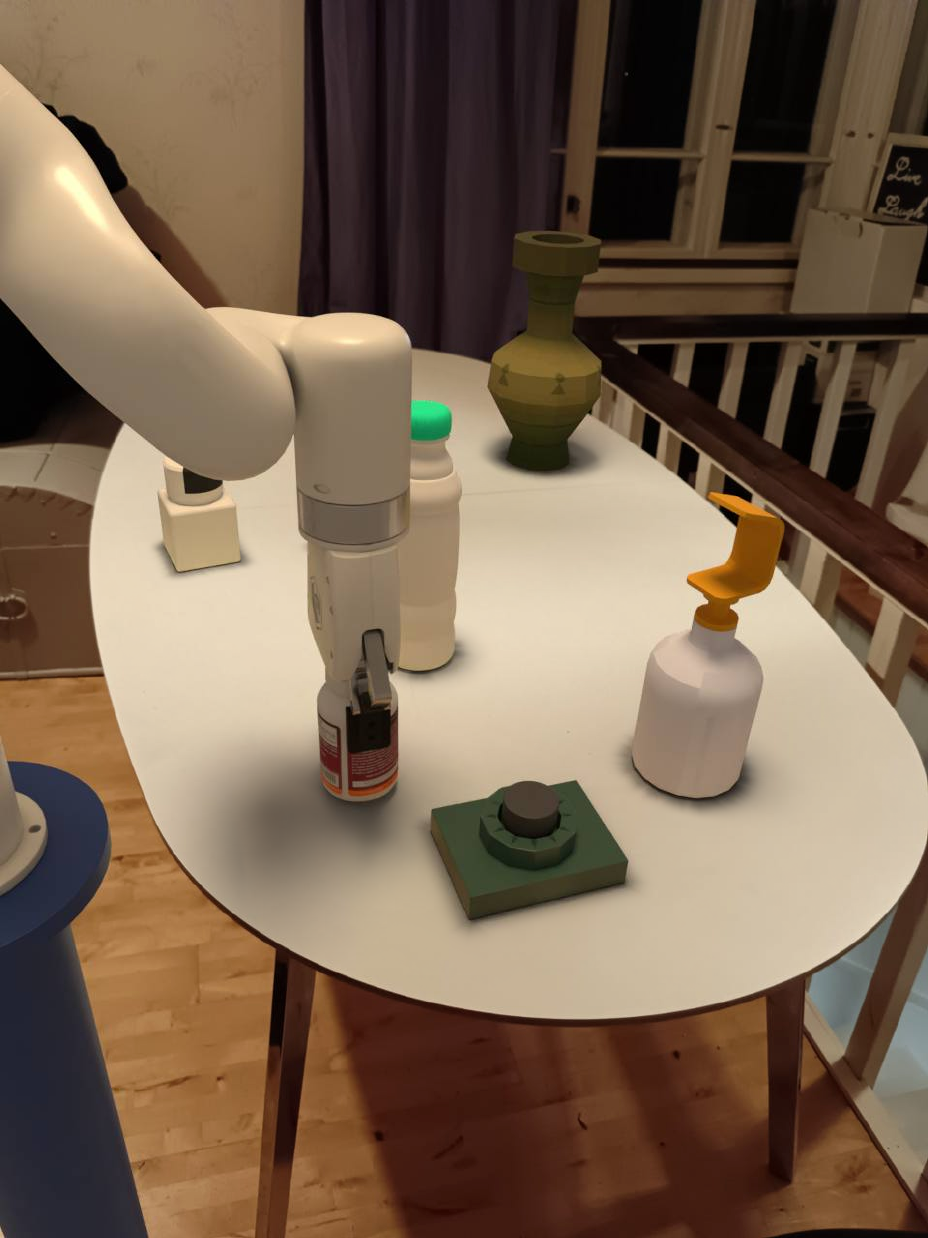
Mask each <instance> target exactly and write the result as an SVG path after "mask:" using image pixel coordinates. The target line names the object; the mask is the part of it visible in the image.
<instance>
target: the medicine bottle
mask: <svg viewBox="0 0 928 1238" xmlns="http://www.w3.org/2000/svg"><path fill="white" fill-rule="evenodd" d="M162 466H163V473H164V482H165V488H159V489H158V490H157V492H156V494H157V501H158V507H159V515H160V523H161V530H162V539H163V540H162V541H163V545H164V547H165V550H166V551H167V554H168V555H169V557H170V559H171V562H172V563H173V565H174V567H175V569H176V571H177V572H178V573H179V572H180V573H181V572H185V571H190V570H198V569H203V568H209V567H215V566H221V565H225V564H231V563H237V562H240V561H241V548H240V537H239V535H240V534H239V526H238V523H239V522H238V513H237V505H236V503H235V502H234V499H232V497H231V496H230V494H229V492H228V491H227V490H226V488H225V487H224V480H215V479H211V478H208V477H205V476H201V475H199V474H197V473H194V472H192V471H190V470H188V469H186V468H184V467H182V466H181V465H179V464H178V463H176V462H174V461H173V460H171V459H170V458H168V457H167V456H166V457H165V458H164V459H163V462H162Z"/></svg>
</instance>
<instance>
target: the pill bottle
mask: <svg viewBox="0 0 928 1238" xmlns="http://www.w3.org/2000/svg"><path fill="white" fill-rule="evenodd" d="M361 667H365V662H364V660H362V661H360V662H359V664H358V666H357V668H361ZM324 674H325V675H324V680H325V682H324V683H323V684H322V686H321V687H320V689H319V691H318V693H317V697H316V711H317V727H318V728H317V729H318V730H317V731H318V746H319V747H318V749H319V769H320V771H319V772H320V778H321V783H322V785H323V786H324V788H325V789H326V791H328V792H329V793H330V794H331V796H334V797H335V798H337V799H341V800H344V801H348V802H368V801H373V800H375V799H378V798H381V797H383V796H384V795H386V794H388V793H389V792H390V791H391V790H392V789H393V788H394V786H395V785H396V783H397V781H398V776H399V695H398V690H397V689H396V687H395V685H394V684H393V683H392V682H391V681H390V680H389V682H390V687H391V692H392V700H391V743H390V746H389V747H387V748H382V749H377V750H371V751H366V752H360V753H354V754H351V753H349V752H348V749H347V738H346V707H348V706H350V700H349V690H348V681H347V680H344V681H342V682H336V681H335V680H333V679H332V678H331V677H330V676H329V674H328V672H327V670H326V667H325V666H324ZM368 687H369V685H368V678H365V679H358V689H359V696H360V695H361V694H362V692H367V691H368Z"/></svg>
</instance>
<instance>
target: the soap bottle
mask: <svg viewBox="0 0 928 1238" xmlns="http://www.w3.org/2000/svg"><path fill="white" fill-rule="evenodd" d="M707 498H708V499H709V500H711V501H713V502H714V503H716V504H717V505H720V506H721V507H723V508H725V509H727V510H729V511H730V512H732V513H735V514H736V515H738V519H737V525H736V530H735V535H734V538H733V544H732V549H731V552H730V555H729V557H728V559H727V560H726V561H725V562H724V563H723V564H720V565H718V566H714V567H710V568H707V569H703V570H699V571H696V572H692V573H689V574H688V575H687V577H686V584H687V585H689V586H690V587H691V588H693V589H695V590H696V591H698V592H699V593H701V595H702V596H703V598H704V599H705V600H707V603H703V604H701V605H699V606H697V607H696V609H695V610H694V614H693V620H692V624H691V628H690V629H689V628H688V629H684V630H682V631H677V632H675V633H671V634H670V635H667V636H665V637H663V638H662V639H661V640H660V641H659V642H657V643H655V645H654V647H653V648H652V650H651V651H650V653H649V656H648V659H647V662H646V666H645V667H646V668H645V672H644V677H643V684H642V689H641V695H640V701H639V707H638V712H637V717H636V718H637V719H636V724H635V730H634V734H633V740H632V745H631V752H630V753H631V756H632V760H633V765H634V767H635V768H636V769H637V771H638V772H639V774H640V775H641V776H642V777H643V779H644V780H646V781H648V782H649V783H651V784H652V785H653V786H655V787H656V788H658V789H660V790H662V791H664V792H667V793H671V794H673V795H676V796H681V797H687V798H693V799H701V798H710V797H711V798H712V797H716V796H719V795H721V794H723V793H725V792H728V791H729V790H730V789H731V788H732V787H733V786H734V785H735V784H736V782H737V781H738V780H739V779H740V775H741V771H742V768H743V763H744V759H745V757H746V756H745V755H746V751H747V748H748V745H749V740H750V737H751V732H752V729H753V725H754V720H755V717H756V714H757V710H758V705H759V701H760V697H761V694H762V690H763V684H764V674H763V669H762V665H761V663H760V660H759V659H758V657H757V656H756V655H755V654H754V653H753V652H752V651H751V650H750V649H749V648H748V647H747V646H746V645H745V644H744V643H743V642H741V641H740V640H739V639H737V638H735V637H736V633H737V628H738V624H739V618H740V617H739V614H738V613H737V612H736V611H735V610H734V609H733V608H731V606H733V605H736V604H737V603H739V602H740V600H741V599H745V598H748V597H750V596H751V597H752V596H753V595H757V594H760V593H762V592H763V591H765V590H766V589H767V588H768V587H769V585H771V582H772V580H773V578H774V574H775V571H776V566H777V562H778V559H779V558H778V557H779V554H780V550H781V546H782V542H783V538H784V533H785V523H784V521H783V520H782V519H780V518H779V517H777V516H775V515H773V514H771V513H770V512H768V511H766V510H764V509H762V508H760V507H758V506H756V505H754V504H753V503H751V502H749V501H748V500H745V499H743V498H741V497H739V496H736V495H731V494H726V493H725V494H724V493H719V492H714V491H713V492H712V491H711V492H709V494H708V496H707Z"/></svg>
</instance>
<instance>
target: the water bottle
mask: <svg viewBox="0 0 928 1238" xmlns="http://www.w3.org/2000/svg"><path fill="white" fill-rule="evenodd" d="M452 425H453V414H452V411H451V409H450V408H449V407H448V406H447V405H445V403H444V404H443V403H441V402H438V401H435V400H427V399H426V400H423V399H422V400H420V399H418V400H415V399H414V400H411V459H410V529H409V532H408V534H407V535H406V537H405V538H404V539H402V540H401V541H400V542H398V543H397V551H398V567H399V571H400V574H399V585H400V615H401V647H400V661H399V667H398V668H400V669H401V668H402V669H404V670H408V671H416V672H417V671H418V672H421V671H423V672H424V671H431V670H434V669H437V668H439V667H442V666H443V665H445V664H446V663H448V662H449V661H450V660H451V659H452V657H453V655H454V653H455V649H456V627H455V620H456V615H457V593H456V585H457V579H458V570H459V558H460V538H461V537H460V535H461V534H460V533H461V528H460V527H461V526H460V525H461V524H460V523H461V517H460V516H461V515H460V501H461V498H462V495H463V494H462V493H463V485H462V481H461V478H460V476H459V475H460V474H459V473H458V470H457V469H456V467H455V466H454V461H453V458H452V456H451V455H450V453H449V451H448V450H447V448H446V443H447V441H449V439H450V437H451V435H450V434H451V431H452V427H453V426H452Z"/></svg>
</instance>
